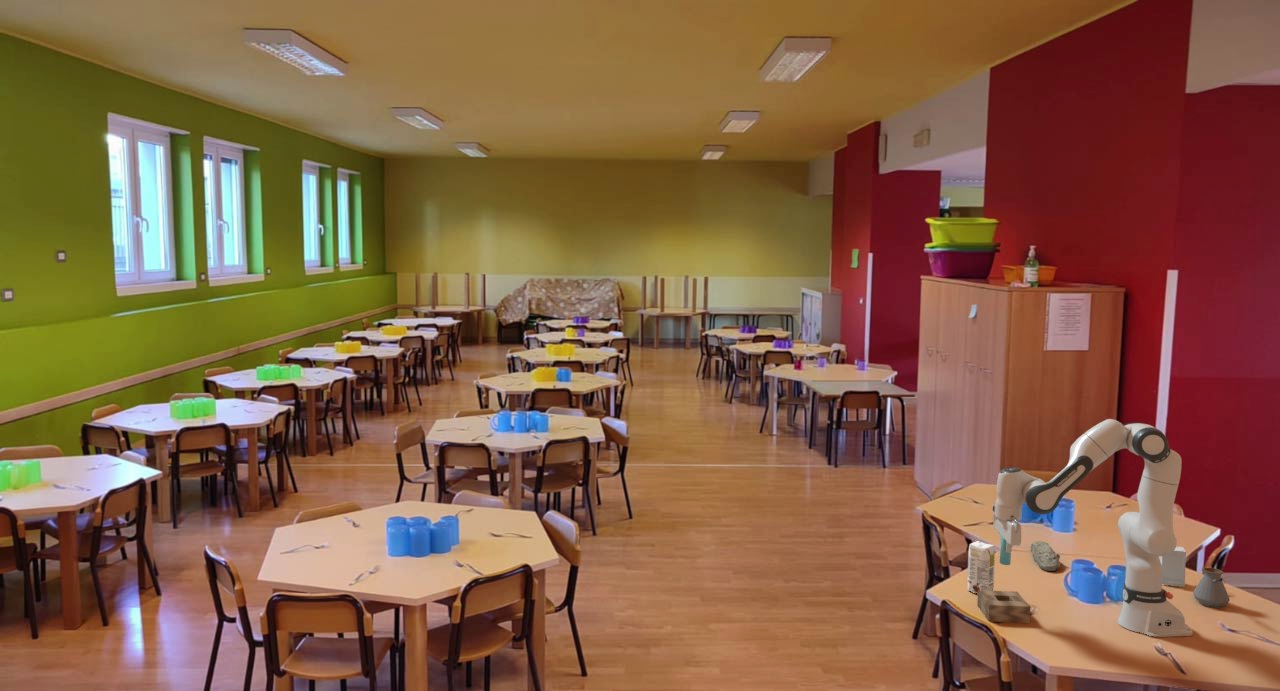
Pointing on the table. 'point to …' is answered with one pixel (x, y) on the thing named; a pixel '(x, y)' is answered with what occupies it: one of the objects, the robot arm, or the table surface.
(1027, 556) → the table surface
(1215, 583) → the coffee pot
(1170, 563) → the skincare box
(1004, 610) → the socket block
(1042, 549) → the long grey stone
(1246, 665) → the table surface
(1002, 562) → the peg
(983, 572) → the juice carton
